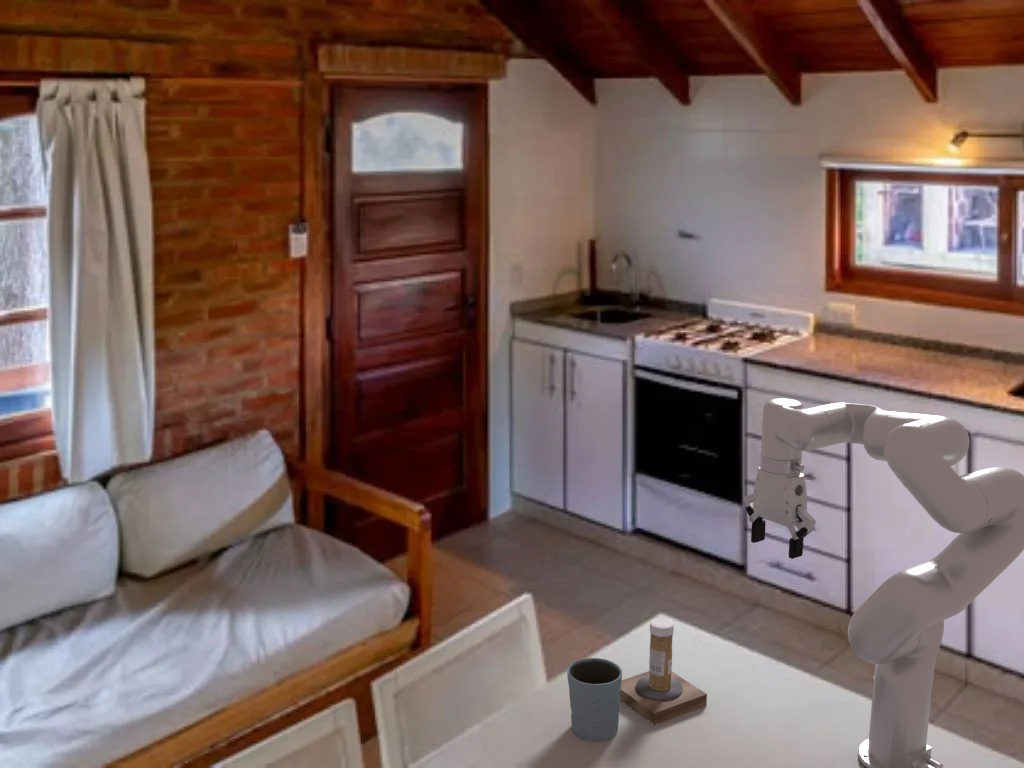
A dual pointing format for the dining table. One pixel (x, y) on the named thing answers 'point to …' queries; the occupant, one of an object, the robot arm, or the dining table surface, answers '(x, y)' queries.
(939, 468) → the robot arm
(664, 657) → the sprinkles bottle
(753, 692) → the dining table surface
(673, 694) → the walnut base
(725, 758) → the dining table surface
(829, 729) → the dining table surface
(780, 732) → the dining table surface
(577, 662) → the blue-grey cup
